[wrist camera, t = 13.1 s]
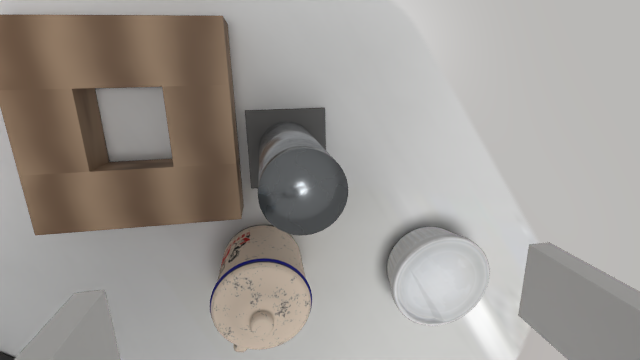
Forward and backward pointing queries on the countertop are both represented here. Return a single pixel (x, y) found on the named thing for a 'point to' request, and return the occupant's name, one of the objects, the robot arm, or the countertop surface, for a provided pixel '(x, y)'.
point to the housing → (86, 127)
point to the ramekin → (436, 275)
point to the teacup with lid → (260, 290)
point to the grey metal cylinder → (299, 181)
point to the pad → (265, 119)
